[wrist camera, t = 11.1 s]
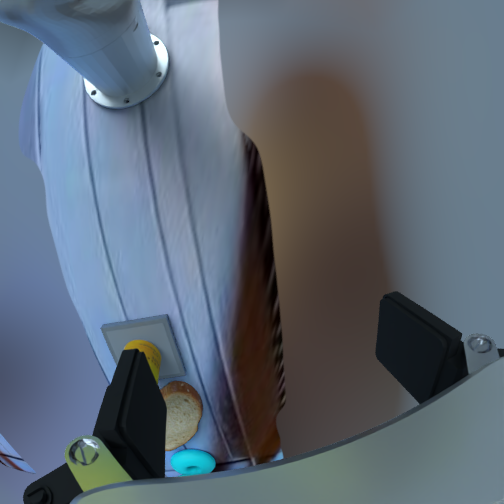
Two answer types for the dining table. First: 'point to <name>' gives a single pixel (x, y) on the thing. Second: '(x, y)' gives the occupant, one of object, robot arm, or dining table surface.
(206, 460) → the donuts
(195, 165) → the dining table surface
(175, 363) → the slate coaster
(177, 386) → the bread slice
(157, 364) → the beer can
